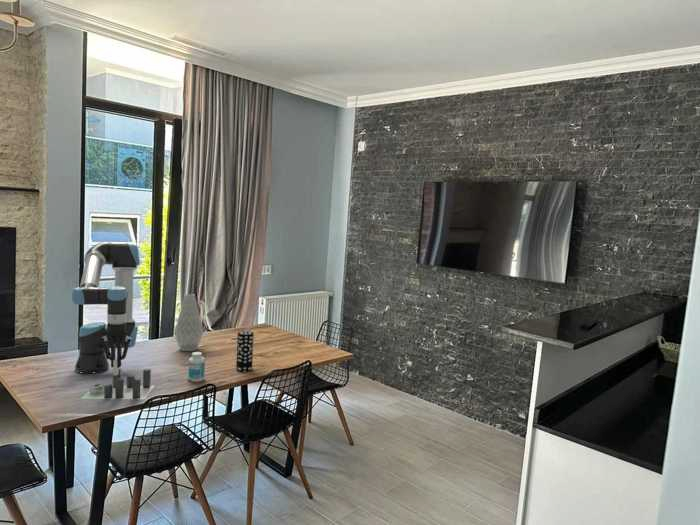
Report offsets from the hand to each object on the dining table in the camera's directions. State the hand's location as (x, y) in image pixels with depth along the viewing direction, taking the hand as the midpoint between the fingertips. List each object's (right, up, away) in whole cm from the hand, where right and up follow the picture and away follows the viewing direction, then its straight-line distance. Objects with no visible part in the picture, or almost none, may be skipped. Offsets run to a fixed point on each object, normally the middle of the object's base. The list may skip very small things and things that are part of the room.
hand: (115, 374), depth 223 cm
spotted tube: (+48, -8, +44) cm, 65 cm away
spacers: (+4, -8, +1) cm, 9 cm away
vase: (+8, -2, +76) cm, 76 cm away
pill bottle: (+28, -8, +24) cm, 38 cm away
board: (+1, -9, 0) cm, 9 cm away
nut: (-8, -8, -1) cm, 11 cm away
